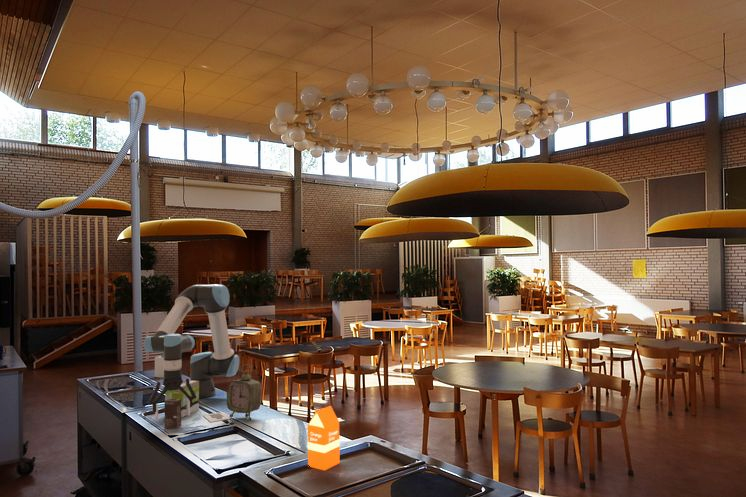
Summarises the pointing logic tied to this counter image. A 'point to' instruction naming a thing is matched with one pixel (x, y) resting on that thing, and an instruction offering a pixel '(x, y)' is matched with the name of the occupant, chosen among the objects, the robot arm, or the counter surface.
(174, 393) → the tea box
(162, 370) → the soap bottle
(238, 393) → the tabletop clock
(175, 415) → the box
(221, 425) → the counter surface
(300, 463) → the counter surface
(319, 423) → the orange juice
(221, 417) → the card
